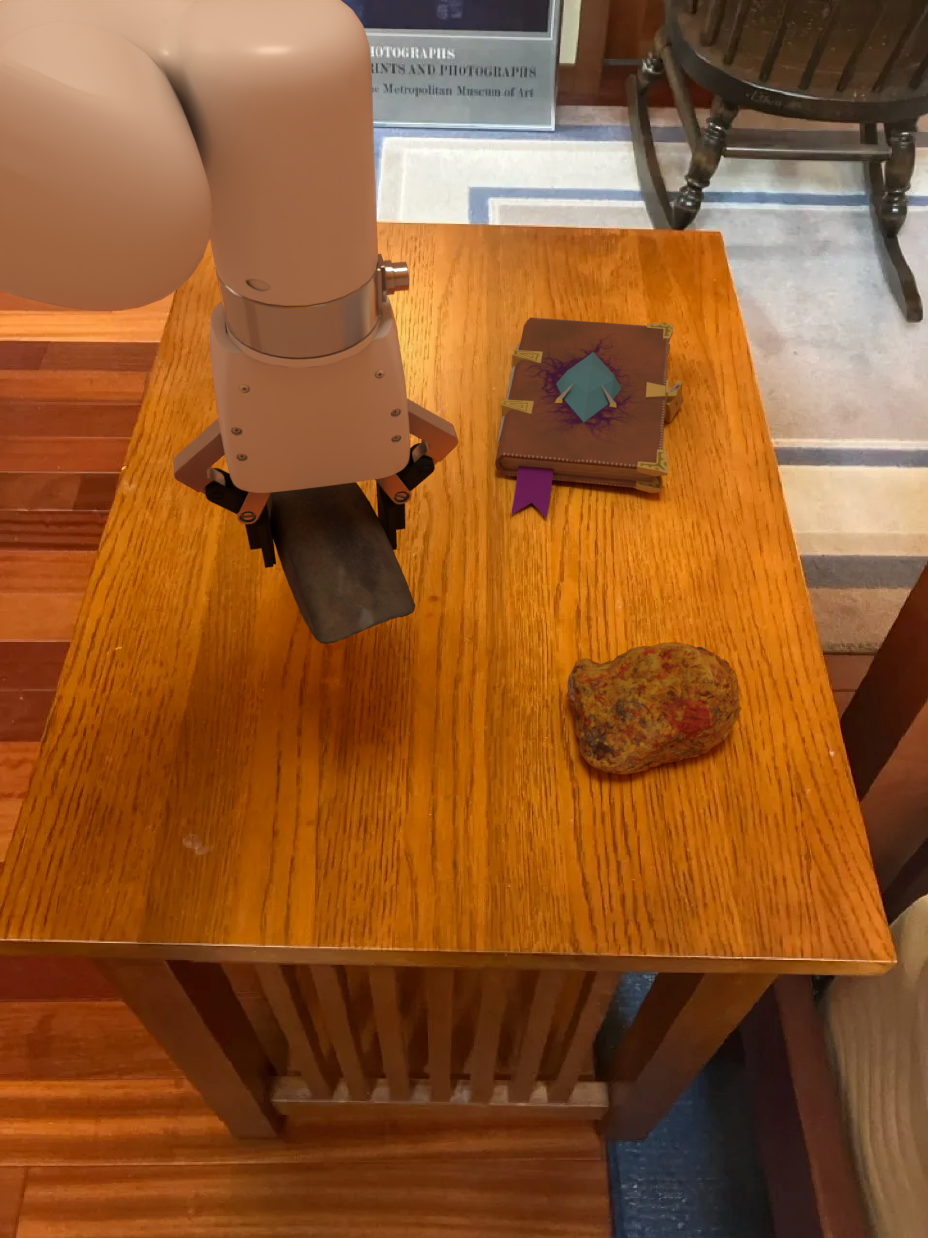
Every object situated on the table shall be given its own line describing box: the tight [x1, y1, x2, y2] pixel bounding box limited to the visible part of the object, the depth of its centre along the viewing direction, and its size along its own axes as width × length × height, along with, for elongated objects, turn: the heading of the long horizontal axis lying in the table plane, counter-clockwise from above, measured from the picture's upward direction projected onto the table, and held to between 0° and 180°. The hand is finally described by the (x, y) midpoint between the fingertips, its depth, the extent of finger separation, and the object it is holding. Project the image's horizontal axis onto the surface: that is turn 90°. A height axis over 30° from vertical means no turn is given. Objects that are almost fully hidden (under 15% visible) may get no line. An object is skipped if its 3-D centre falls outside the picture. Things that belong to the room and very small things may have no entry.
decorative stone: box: [267, 482, 416, 645], centre depth 58 cm, size 17×6×4 cm, turn 24°
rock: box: [566, 641, 742, 775], centre depth 65 cm, size 11×8×10 cm
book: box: [494, 317, 684, 519], centre depth 84 cm, size 16×25×5 cm, turn 171°
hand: (328, 540), depth 59 cm, fingers closed on decorative stone, 6 cm apart
